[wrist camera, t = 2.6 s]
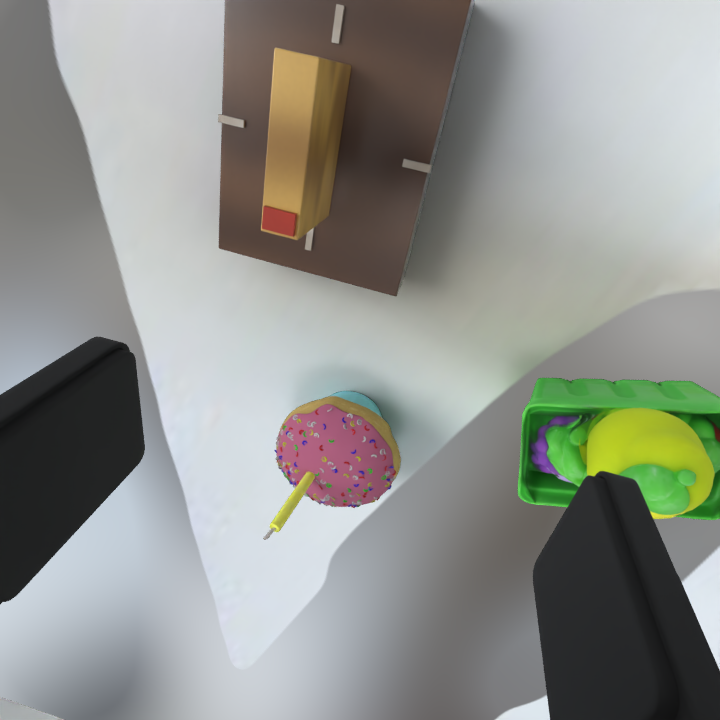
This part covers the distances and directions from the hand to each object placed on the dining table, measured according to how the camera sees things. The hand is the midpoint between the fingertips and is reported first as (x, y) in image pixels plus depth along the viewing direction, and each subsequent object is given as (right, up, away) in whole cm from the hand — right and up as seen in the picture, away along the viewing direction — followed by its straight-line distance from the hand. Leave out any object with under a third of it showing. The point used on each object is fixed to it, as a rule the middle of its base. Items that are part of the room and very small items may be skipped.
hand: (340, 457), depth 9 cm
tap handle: (-1, +13, +14) cm, 19 cm away
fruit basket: (+17, -1, +20) cm, 26 cm away
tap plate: (-1, +14, +16) cm, 22 cm away
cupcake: (0, -2, +26) cm, 26 cm away
